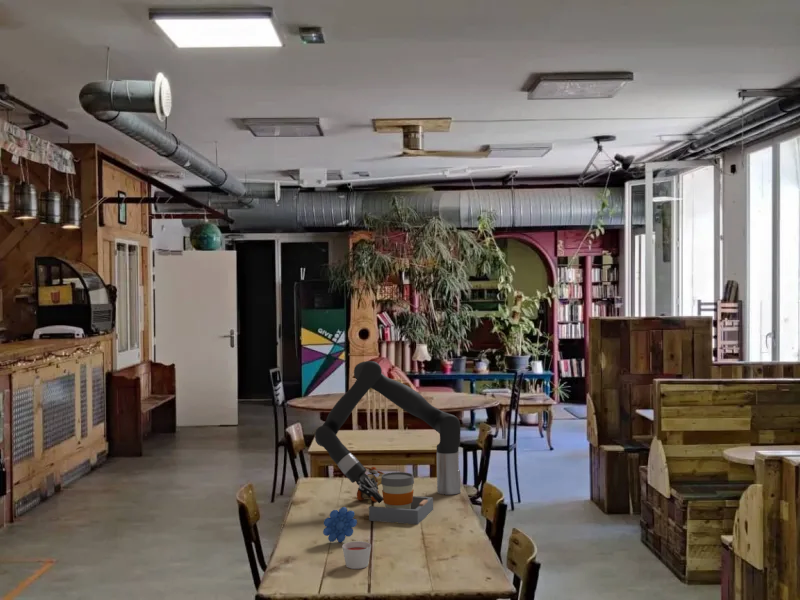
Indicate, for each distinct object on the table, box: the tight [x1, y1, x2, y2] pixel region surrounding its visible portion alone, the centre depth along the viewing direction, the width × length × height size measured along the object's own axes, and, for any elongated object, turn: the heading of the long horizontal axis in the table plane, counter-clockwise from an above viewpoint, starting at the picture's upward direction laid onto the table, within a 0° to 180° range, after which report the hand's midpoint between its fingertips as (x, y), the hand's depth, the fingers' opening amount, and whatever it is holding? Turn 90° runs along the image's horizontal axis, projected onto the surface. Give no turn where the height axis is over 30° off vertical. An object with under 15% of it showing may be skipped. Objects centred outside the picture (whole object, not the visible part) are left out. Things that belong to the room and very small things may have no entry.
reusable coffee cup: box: [380, 471, 415, 509], centre depth 314 cm, size 13×13×15 cm
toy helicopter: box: [356, 466, 386, 503], centre depth 342 cm, size 8×21×14 cm, turn 159°
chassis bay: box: [368, 495, 434, 525], centre depth 313 cm, size 19×20×6 cm
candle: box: [341, 540, 372, 570], centre depth 257 cm, size 9×9×6 cm
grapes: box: [322, 506, 358, 543], centre depth 282 cm, size 12×7×12 cm, turn 98°
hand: (381, 501), depth 316 cm, fingers closed
